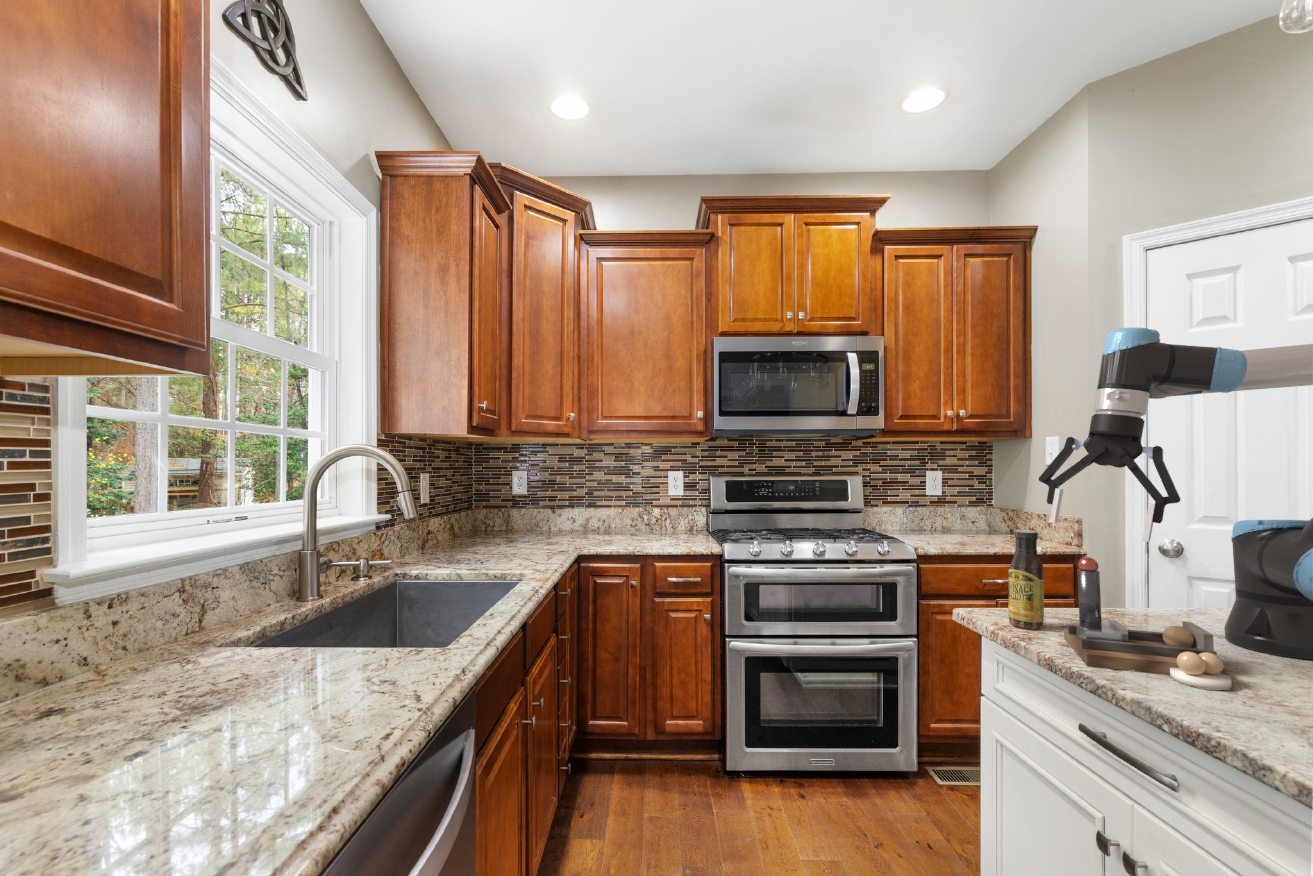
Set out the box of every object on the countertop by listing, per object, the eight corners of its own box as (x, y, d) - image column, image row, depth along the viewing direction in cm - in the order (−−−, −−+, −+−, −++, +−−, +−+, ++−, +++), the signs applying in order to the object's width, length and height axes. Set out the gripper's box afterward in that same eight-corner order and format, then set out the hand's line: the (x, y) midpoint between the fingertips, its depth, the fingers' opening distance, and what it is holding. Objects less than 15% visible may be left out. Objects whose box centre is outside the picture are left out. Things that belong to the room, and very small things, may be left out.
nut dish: (1218, 677, 92) (1216, 647, 92) (1241, 693, 86) (1239, 662, 86) (1162, 671, 95) (1161, 642, 95) (1181, 686, 89) (1179, 656, 89)
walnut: (1188, 647, 100) (1187, 624, 101) (1199, 654, 97) (1197, 630, 97) (1159, 645, 102) (1158, 622, 102) (1168, 652, 98) (1167, 628, 98)
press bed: (1182, 649, 105) (1181, 616, 106) (1227, 680, 91) (1225, 641, 91) (1064, 638, 112) (1062, 607, 113) (1087, 666, 98) (1085, 630, 98)
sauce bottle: (1002, 624, 123) (998, 529, 123) (1021, 620, 125) (1017, 528, 126) (1033, 632, 117) (1029, 533, 117) (1052, 628, 119) (1048, 531, 120)
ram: (1116, 637, 105) (1112, 555, 106) (1128, 648, 100) (1124, 561, 100) (1075, 634, 108) (1072, 553, 108) (1085, 644, 102) (1081, 559, 102)
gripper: (1033, 406, 111) (1014, 516, 111) (1212, 420, 93) (1188, 550, 94) (1042, 411, 116) (1024, 516, 117) (1214, 425, 98) (1192, 548, 99)
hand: (1097, 531), depth 105 cm, fingers open, 13 cm apart
